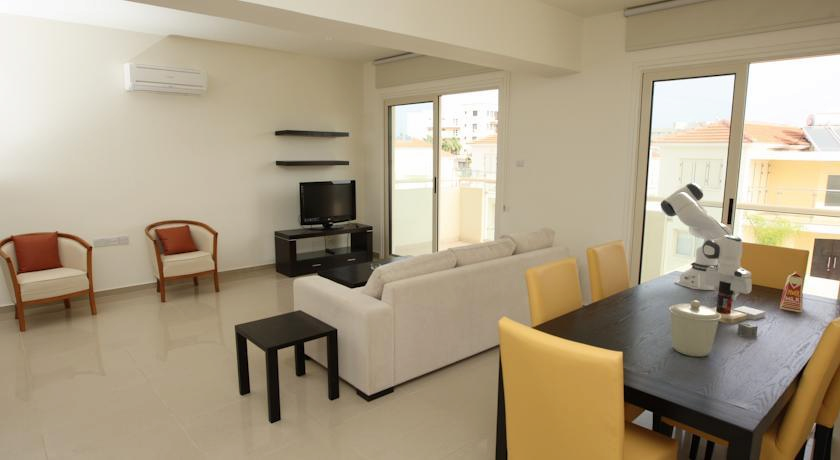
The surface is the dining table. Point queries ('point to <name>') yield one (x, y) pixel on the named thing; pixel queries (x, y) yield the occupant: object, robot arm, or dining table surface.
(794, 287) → the milk carton
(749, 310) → the grey stand
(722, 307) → the deodorant
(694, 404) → the dining table surface
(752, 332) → the dice cube
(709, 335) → the canister
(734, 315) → the oak stand
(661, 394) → the dining table surface
